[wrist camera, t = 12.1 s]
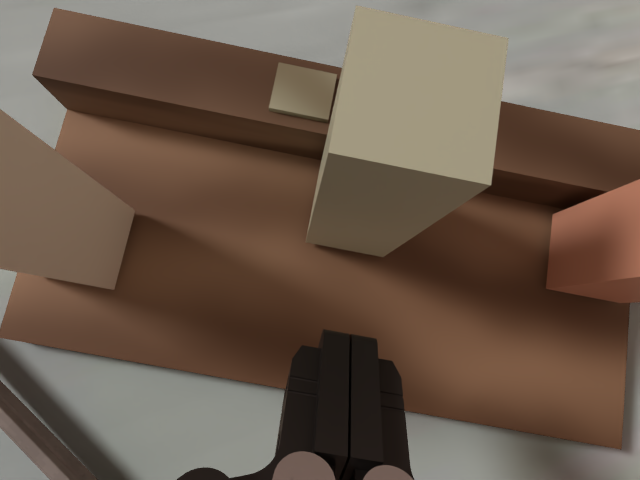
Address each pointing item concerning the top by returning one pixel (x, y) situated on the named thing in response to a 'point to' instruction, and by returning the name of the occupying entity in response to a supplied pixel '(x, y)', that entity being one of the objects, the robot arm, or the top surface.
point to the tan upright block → (56, 214)
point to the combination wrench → (38, 440)
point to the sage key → (406, 130)
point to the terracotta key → (598, 247)
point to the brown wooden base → (316, 260)
